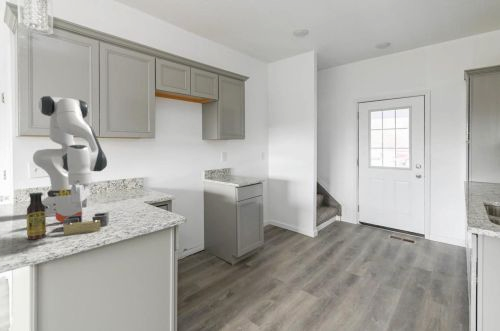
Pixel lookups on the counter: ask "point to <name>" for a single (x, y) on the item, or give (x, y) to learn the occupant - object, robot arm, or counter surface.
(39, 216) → the sauce bottle
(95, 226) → the link
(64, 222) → the chain end left
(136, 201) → the counter surface
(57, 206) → the french fries container
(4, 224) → the counter surface
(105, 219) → the chain end right
